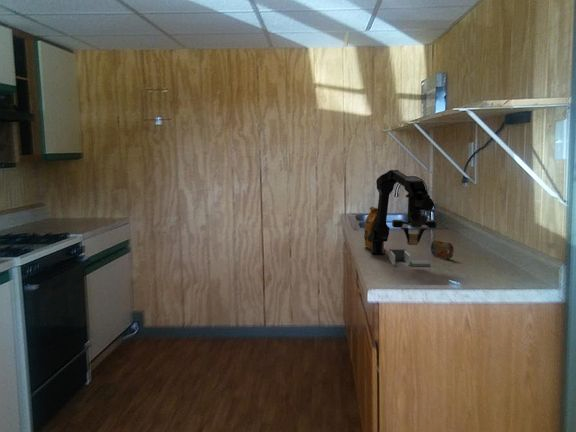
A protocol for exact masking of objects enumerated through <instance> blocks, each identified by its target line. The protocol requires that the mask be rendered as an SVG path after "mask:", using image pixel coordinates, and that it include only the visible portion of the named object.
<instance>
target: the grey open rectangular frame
mask: <svg viewBox="0 0 576 432" xmlns="http://www.w3.org/2000/svg"><path fill="white" fill-rule="evenodd" d="M388 257H389V258H388V260H389V261H390V263H391V264H392V265H393V266H396V261H404V263H405V264H407V266H410V265H411V264H410V260H411V255H410V254H409V253H408V252H407V250H406V249H405V248H404V249H403V248H398V249H397V248H394V249H393V248H392V249H390V248H389V251H388Z"/></svg>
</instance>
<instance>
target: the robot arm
mask: <svg viewBox="0 0 576 432" xmlns="http://www.w3.org/2000/svg"><path fill="white" fill-rule="evenodd" d="M397 183H398V184H400V185H401V186H403V187H404V190H405V192H407V194H406V195H405V197H406V198H407V220H406V221H403V220H402V219H393V220H392V223H391V226H392V227H393V228H400V229H401V230H403V233H404V236H405V238H406V242H407V241H408V243H409V233H410V232H409V230H410V229H409V227H412V228H415V227H416V228H417V227H418V230H417V231H418V232H417V234H418V244H420V241H421V238H422V237H423V234H424V232H425V231H426V230H428V228H429V229H436V228H437V221H435V220H434V219H428V217H427V215H422V211H424V212H429V211H432V209H433V208H434V200H433V199H432V198H431V195H430V194H428V190H427V189H426V186H425V184H424V181H423V180H421V179H418V178H416V179H415V178H412V177H409V176H408V175H406V174H404V173H403V172H401V171H400V170H399V169H390V170H388V171H387V172H385V173H383V174H381V175H380V176H378V178H377V179H376V181H375V184H376V190H377V191H378V202H377V209H378V210H377V219H376V222H375V224H374V225H373V226H372V231H371V233H370V234H369V236H368V241H369V242H372V250H370V254H371V255H386V253H385V252H384V250H383V242H384V243H385V242H386V243H387V242H388V241H389V235H390V226H389V225H388V224H387V218H388V209H389V201H390V195H391V194H392V192H393V191H394V189H395V188H394V187H395V185H396V184H397ZM408 226H409V227H408Z"/></svg>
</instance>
